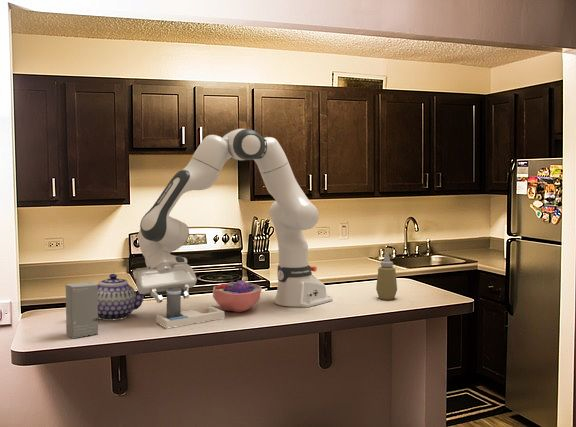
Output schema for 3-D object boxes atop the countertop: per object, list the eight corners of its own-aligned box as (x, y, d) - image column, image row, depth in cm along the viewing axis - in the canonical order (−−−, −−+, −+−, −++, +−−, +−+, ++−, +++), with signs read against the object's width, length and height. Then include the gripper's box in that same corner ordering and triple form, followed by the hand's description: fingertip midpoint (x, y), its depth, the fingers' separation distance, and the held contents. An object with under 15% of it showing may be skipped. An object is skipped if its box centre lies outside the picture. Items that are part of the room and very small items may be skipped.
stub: (176, 319, 200) (177, 287, 199) (183, 323, 196) (183, 290, 195) (163, 321, 197) (164, 288, 196) (169, 325, 193) (170, 291, 192)
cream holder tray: (212, 313, 209) (212, 305, 209) (224, 318, 202) (224, 310, 202) (156, 323, 197) (156, 314, 197) (166, 328, 190) (166, 319, 190)
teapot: (75, 326, 194) (74, 280, 193) (74, 314, 208) (73, 272, 207) (154, 318, 203) (152, 275, 201) (148, 308, 217) (147, 267, 216)
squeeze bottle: (397, 301, 226) (397, 254, 225) (375, 300, 227) (376, 254, 226) (396, 296, 234) (397, 251, 233) (376, 295, 235) (376, 250, 234)
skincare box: (72, 339, 179) (70, 287, 178) (65, 333, 185) (63, 283, 184) (100, 334, 184) (98, 284, 183) (92, 329, 190) (91, 280, 188)
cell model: (250, 302, 226) (250, 272, 225) (268, 314, 208) (268, 282, 207) (206, 306, 220) (206, 276, 219) (221, 319, 202) (221, 286, 201)
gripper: (133, 263, 194) (145, 298, 187) (190, 257, 206) (204, 290, 199) (129, 275, 198) (140, 309, 191) (185, 268, 210) (198, 300, 203)
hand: (173, 299), depth 195 cm, fingers open, 8 cm apart
